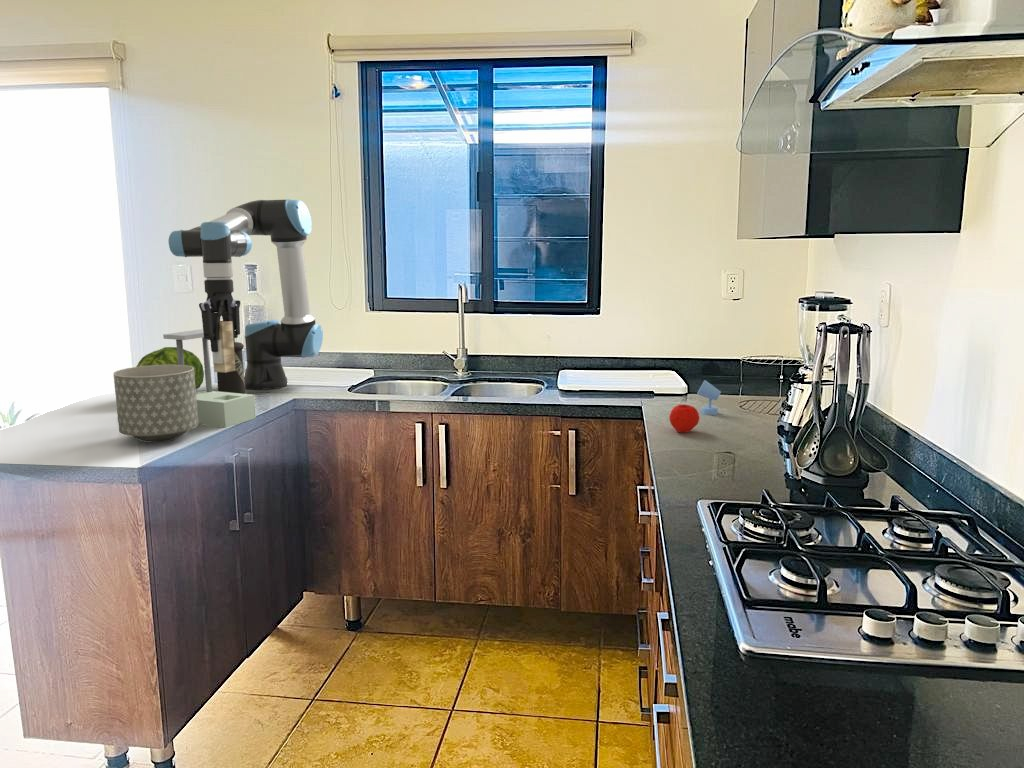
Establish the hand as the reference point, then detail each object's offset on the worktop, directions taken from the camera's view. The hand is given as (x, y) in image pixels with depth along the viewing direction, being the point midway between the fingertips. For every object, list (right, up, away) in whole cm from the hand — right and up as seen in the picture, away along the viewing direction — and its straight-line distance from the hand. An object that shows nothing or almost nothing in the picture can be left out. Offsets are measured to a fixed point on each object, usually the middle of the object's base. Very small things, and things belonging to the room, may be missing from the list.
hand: (224, 361), depth 220 cm
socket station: (-4, -17, +5) cm, 18 cm away
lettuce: (-30, -12, +33) cm, 46 cm away
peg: (0, -3, 0) cm, 3 cm away
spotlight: (+139, -15, +11) cm, 141 cm away
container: (-7, -13, +26) cm, 30 cm away
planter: (-11, -21, -15) cm, 28 cm away
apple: (+128, -19, -11) cm, 129 cm away
